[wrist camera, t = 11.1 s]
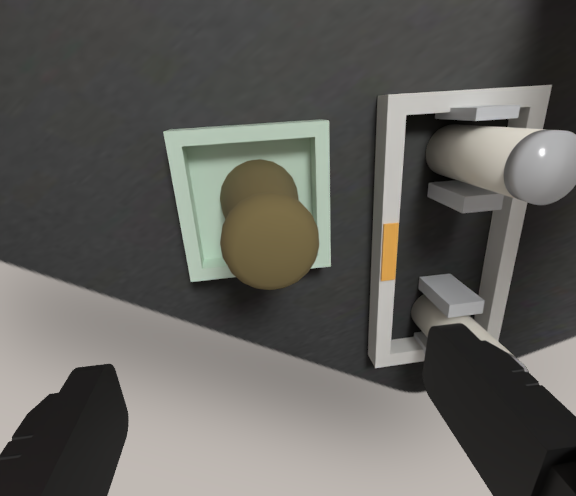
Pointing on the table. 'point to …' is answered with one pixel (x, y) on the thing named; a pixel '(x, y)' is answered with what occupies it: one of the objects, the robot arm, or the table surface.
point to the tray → (223, 159)
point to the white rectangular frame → (455, 194)
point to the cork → (266, 226)
